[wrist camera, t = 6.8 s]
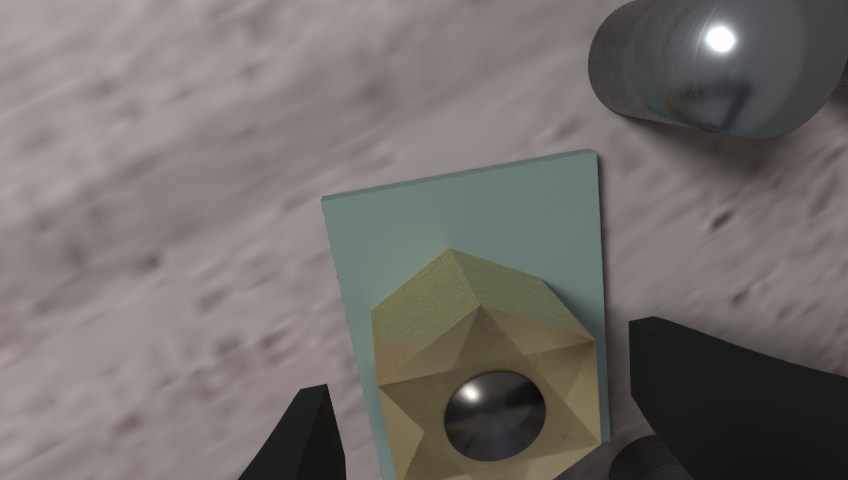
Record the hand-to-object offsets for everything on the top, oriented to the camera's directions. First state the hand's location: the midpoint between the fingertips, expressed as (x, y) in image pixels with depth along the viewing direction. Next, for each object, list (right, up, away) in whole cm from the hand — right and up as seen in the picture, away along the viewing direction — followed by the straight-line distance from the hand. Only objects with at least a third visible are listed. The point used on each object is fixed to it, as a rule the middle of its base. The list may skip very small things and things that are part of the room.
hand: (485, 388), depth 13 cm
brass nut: (0, +1, +2) cm, 2 cm away
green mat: (0, +1, +3) cm, 3 cm away
